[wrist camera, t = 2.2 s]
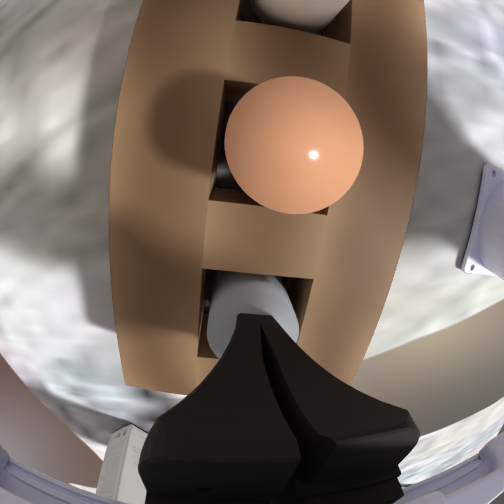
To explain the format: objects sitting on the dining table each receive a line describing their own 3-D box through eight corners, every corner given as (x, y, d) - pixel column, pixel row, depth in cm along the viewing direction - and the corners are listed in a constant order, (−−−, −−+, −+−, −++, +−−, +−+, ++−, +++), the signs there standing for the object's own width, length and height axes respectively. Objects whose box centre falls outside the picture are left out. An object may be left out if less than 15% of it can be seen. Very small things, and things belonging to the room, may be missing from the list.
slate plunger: (287, 257, 15) (308, 298, 10) (275, 317, 16) (288, 370, 12) (215, 250, 14) (210, 290, 10) (210, 312, 15) (204, 365, 11)
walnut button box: (386, -4, 10) (418, -30, 6) (326, 355, 18) (344, 397, 14) (188, -43, 9) (179, -82, 5) (142, 341, 16) (125, 385, 13)
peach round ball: (322, 113, 10) (370, 95, 6) (309, 197, 12) (350, 222, 7) (233, 98, 10) (235, 66, 6) (222, 186, 11) (216, 205, 7)
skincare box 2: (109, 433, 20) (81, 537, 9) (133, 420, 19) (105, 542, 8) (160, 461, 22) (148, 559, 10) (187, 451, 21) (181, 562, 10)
